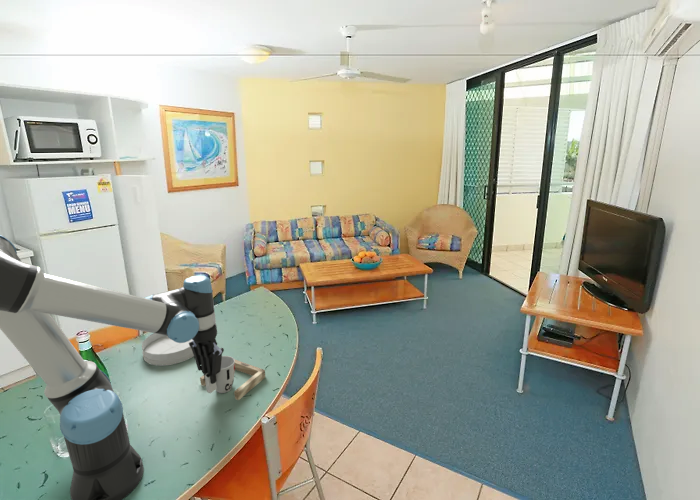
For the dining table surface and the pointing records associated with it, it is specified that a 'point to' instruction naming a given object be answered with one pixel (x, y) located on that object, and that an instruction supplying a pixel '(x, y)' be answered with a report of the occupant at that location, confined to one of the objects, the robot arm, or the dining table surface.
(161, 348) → the dish
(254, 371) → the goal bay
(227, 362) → the cup
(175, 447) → the dining table surface
